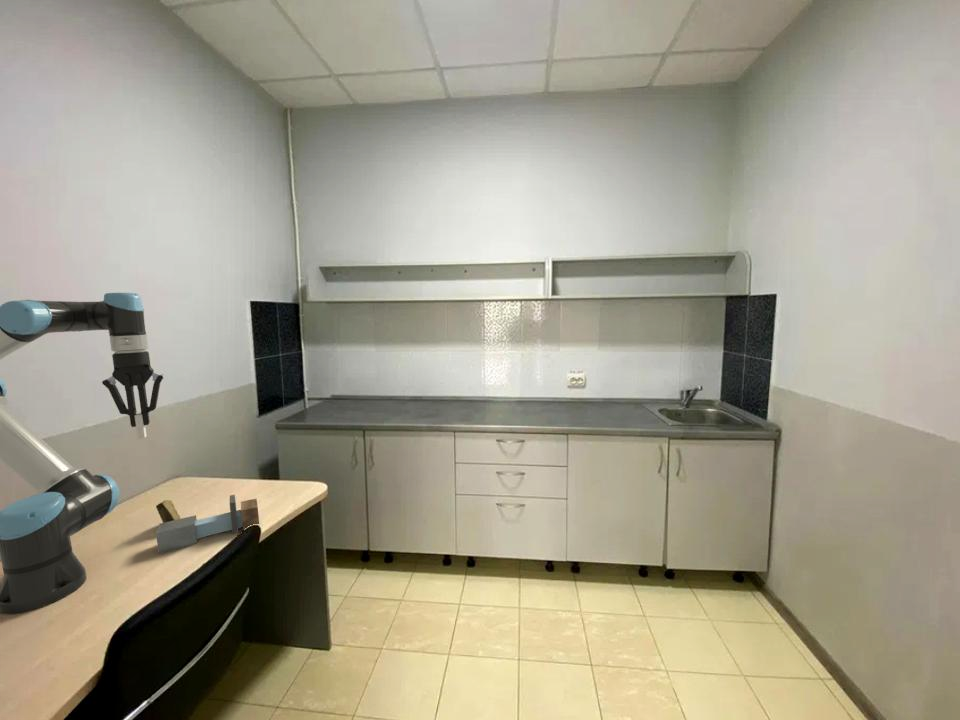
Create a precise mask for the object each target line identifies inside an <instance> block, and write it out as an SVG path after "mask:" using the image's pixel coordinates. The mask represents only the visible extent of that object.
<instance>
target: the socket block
mask: <svg viewBox="0 0 960 720" xmlns="http://www.w3.org/2000/svg"><path fill="white" fill-rule="evenodd" d="M240 510H241V514H242V524H243V527H242V531H243V530H244V529H245V528H247V527H248V526H250V525H253V524H259V525H260V517H259V509H258V499H257V498H256V497H255V498H251V499H248V500H243V501H240Z"/></svg>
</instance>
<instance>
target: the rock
mask: <svg viewBox="0 0 960 720" xmlns="http://www.w3.org/2000/svg"><path fill="white" fill-rule="evenodd" d="M155 508H156V510H157V512H158V514H159V516H160V519H161V521H162V523H165V522H169V521H173V520H178V519H181V516H180V515H179V514H178V511H177V510H176V508H175V505H174V503H173V500H168V499H165V500H163V501H162V502H160V503H158V504H156V505H155Z"/></svg>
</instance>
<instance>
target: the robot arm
mask: <svg viewBox="0 0 960 720" xmlns="http://www.w3.org/2000/svg"><path fill="white" fill-rule="evenodd" d="M84 331H85V332H88V331H108V334H109V335H108V336H109V343H110V349H111V351H112V352H114V353H112V354H111V357H112V363H113V372H112V375H111V376H110V377H109V378H106V379H105V380H102V385H103V386H104V387H106V389H107V390H108V391H109V394H110V395H111V397H112V399H113V401H114V403H115V406H116V408H117V409H118V412H119V414H121V415H126V416H129V423H130V426H131V427H132V428H134V427H135V428H136V429H135V430H136V435H137V439H138V440H141V439H145V438H146V437H147V436H148V435H147V429H146V426H148V425H149V424H150V416H149V415H150V414H149V413H150V412H152V411H154V410H156V408H157V405H158V398H159V393H160V387H161V382H162V381H163V379H164V378H165V375H164V374H160V373H158V372H155V370H154V369H153V368H152V366H151V358H150V352H149V351H147V350H148V349H149V345H148V342H149V341H148V335H147V331H146V323H145V309H144V307H143V302H142V297H141V295H140V294H138V293H135V292H108V293H107V292H106V293H104V295H103V301H102V300H101V301H66V300H65V301H61V300H57V301H56V300H33V299H19V300H11V301H10V300H9V301H6V302H4V303H3V304H1V305H0V360H2V359H3V358H6V357H8V356H9V355H11V354H12V353H14V352H15V351H17V350H19V349H21V348H23V347H24V346H26V345H29V344H30V343H31V342H34V341H36V340H37V339H39V338H41V337H42V336H44V335H47V334H52V333H65V332H67V333H69V332H84ZM151 377H152V381H153V385H152V389H151V396H150V401H149V402H150V403H149V405H148V398H147V391H146V384H147V382H148V381H149V380H150V379H151ZM116 380H117V381H116ZM117 382H119V383H120V384H121V386H123V387H124V390H125V394H126V402H127V403H126V404H127V406H126V404H125V402H124V399H123V397H122V396H121V393H120V390H119V388H118V387H117ZM134 386H135V387H137V392H138V398H139V399H138V400H139V406H140V413H137V412H138V411H137V407H136V406H137V405H136V398H135V392H134V390H135V389H134ZM5 387H6V384H5V381H4V380H3V379H2V378H1V377H0V461H1V462H2V463H3V464H5V466H7V467H8V468H10V469H11V470H12V471H13V472H14V473H15V474H16V475H17V476H18V477H20V479H22V480H23V481H24V482H26V484H28V485H29V486H30V487H31V488H32V489H34V491H36V493H37V494H34V495H31V496H29V497H24V498H21V499H20V500H17V501H14V502H12V503H11V504H9V505H7V506H6V507H4V508H3V509H2V510H0V561H1V566H2V571H3V577H2V580H1V584H0V613H2V614H5V613H7V615H10V614H11V615H12V614H20V613H25V612H29V611H33V610H36V609H39V608H42V607H45V606H47V605H50V604H52V603H55V602H57V601H60V600H61V599H63V598H65V597H67V596H69V595H70V594H72V593H74V592H75V591H76V590H78V589H79V588H81V587H82V585H84V583H85V582H86V580H87V573H86V568H85V566H83V564H82V562H81V561H80V560H79V559H78V557H77V556H76V555H75V553H74V552H73V547H72V541H71V537H72V536H73V535H75V534H77V533H79V532H80V531H82V530H83V529H85V528H86V527H88V526H90V525H92V524H94V523H95V522H97V521H100V520H101V519H103V518H104V517H105V516H106V515H108V514H109V513H111V512H112V511H113V510H115V508H116V507H117V505H118V503H119V501H120V487H119V485H118V484H117V482H116V481H115V480H114V479H113V477H110V476H109V475H105V474H94V475H93V474H92V473H91V472H90V471H88V470H87V469H86V468H79V467H78V468H75V467H74V466H72V465H71V464H70V463H69V462H68V461H67V460H66V459H64V458H63V457H62V456H61V455H60V454H59V453H58V452H57V451H55V449H53V448H52V447H51V446H50V445H49V444H47V442H46V441H44V439H42V437H40V436H39V435H38V434H37V433H36V432H34V430H32V429H31V428H30V427H28V425H27V424H25V422H23V421H22V420H21V419H20V418H19V417H17V416H16V414H14V413H13V412H12V411H11V410H10V409H9V408H7V404H8V401H9V399H8V398H7V397H6V396H7V388H5Z"/></svg>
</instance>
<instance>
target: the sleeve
mask: <svg viewBox="0 0 960 720" xmlns="http://www.w3.org/2000/svg"><path fill="white" fill-rule="evenodd" d="M196 520H198V519H197V514H196V515H190V516H187V517H183V518H180V519H178V520H173V521H169V522H165V523H163V522H162V523H159V524H158V526H157V529H156V532H155V536H156V543H157V550H158V555H159V554H163V553H166V552H167V553H168V552H171V551H174V550H175V551H176V550H178V549H182V548H186V547H189V546H190V547H191V546H193V545H194V546H195V545H197V544H198V539H199V538H197V539H196V530H195V521H196Z"/></svg>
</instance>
